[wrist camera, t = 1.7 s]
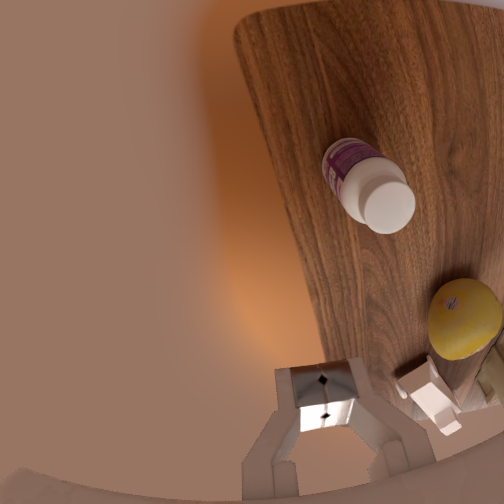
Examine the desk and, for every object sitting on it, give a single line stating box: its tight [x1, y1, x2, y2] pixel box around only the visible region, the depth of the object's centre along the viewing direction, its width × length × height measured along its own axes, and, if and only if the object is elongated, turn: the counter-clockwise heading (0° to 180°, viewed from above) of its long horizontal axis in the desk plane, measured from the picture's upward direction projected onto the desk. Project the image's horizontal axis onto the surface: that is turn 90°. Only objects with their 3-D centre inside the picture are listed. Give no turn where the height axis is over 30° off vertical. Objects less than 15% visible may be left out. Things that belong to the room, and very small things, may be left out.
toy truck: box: [393, 355, 462, 436], centre depth 46 cm, size 25×7×9 cm, turn 43°
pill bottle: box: [322, 138, 415, 234], centre depth 24 cm, size 5×5×10 cm
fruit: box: [427, 278, 503, 360], centre depth 33 cm, size 10×11×10 cm
